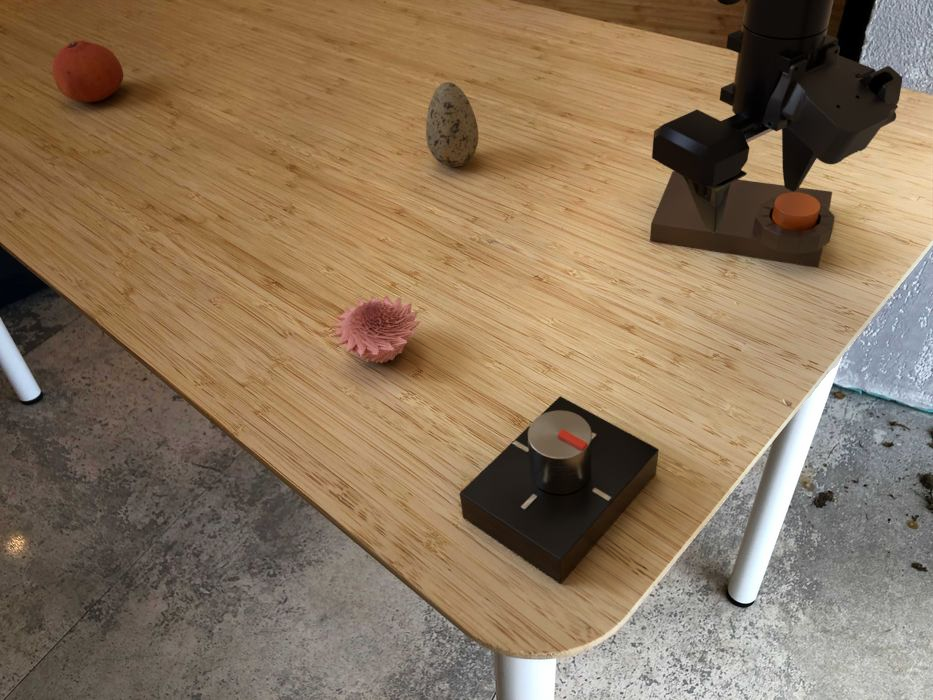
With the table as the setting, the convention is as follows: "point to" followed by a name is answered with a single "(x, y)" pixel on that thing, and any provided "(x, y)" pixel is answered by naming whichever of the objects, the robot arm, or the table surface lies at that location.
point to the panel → (559, 497)
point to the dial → (560, 452)
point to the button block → (742, 223)
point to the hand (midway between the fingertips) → (751, 209)
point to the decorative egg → (451, 126)
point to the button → (796, 211)
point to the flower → (376, 329)
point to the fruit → (87, 71)
